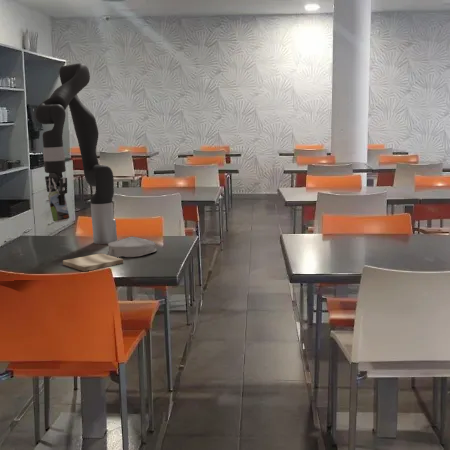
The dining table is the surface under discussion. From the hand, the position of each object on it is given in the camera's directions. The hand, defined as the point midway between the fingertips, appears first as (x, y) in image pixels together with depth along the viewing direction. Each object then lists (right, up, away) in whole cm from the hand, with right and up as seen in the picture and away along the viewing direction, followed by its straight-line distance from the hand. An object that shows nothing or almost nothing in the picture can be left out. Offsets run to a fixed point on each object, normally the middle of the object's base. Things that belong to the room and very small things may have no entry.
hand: (58, 204), depth 237 cm
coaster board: (+14, -22, -4) cm, 26 cm away
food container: (+26, -19, +14) cm, 35 cm away
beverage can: (+1, -7, +1) cm, 7 cm away
